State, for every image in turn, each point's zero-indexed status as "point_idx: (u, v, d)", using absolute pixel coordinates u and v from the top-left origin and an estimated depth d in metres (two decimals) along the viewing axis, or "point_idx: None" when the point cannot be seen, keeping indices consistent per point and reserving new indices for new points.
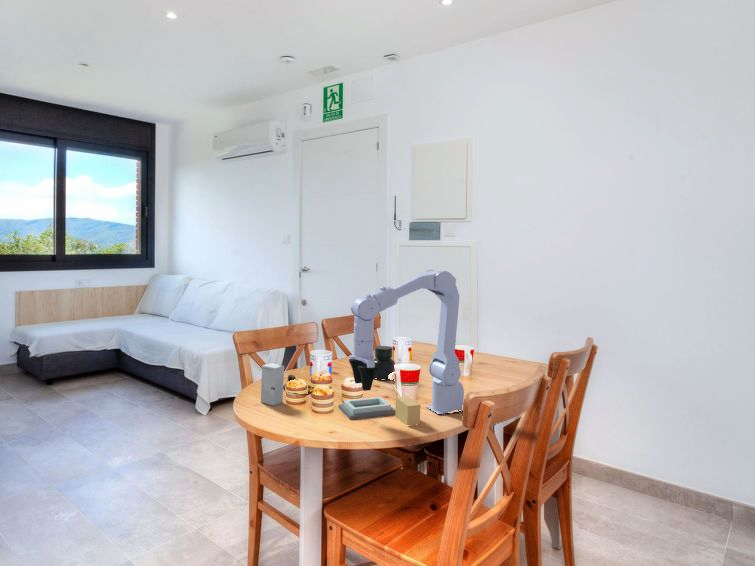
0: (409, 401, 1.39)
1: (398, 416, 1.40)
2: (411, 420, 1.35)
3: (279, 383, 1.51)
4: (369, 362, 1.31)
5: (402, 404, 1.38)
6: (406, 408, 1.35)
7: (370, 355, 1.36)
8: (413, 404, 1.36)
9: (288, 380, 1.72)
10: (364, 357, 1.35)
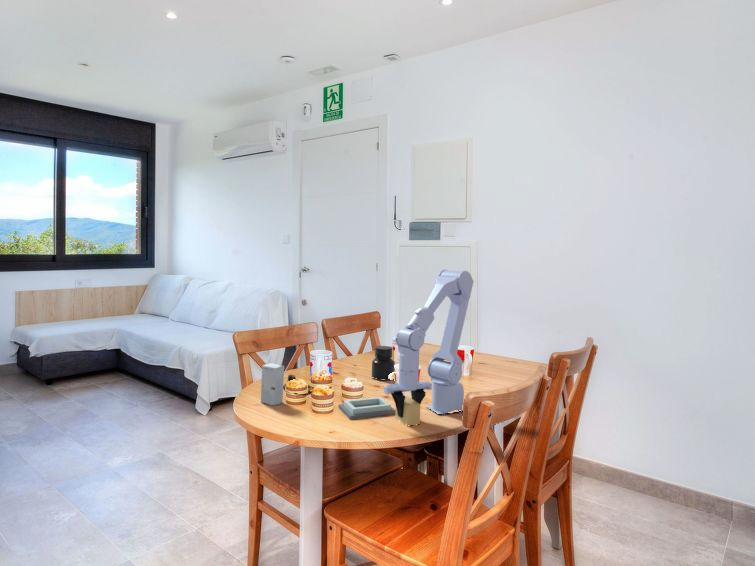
0: (409, 400, 1.39)
1: (398, 416, 1.40)
2: (411, 420, 1.35)
3: (279, 383, 1.51)
4: (384, 387, 1.36)
5: None
6: (406, 407, 1.35)
7: (402, 385, 1.36)
8: (413, 404, 1.36)
9: (288, 380, 1.72)
10: (398, 384, 1.38)
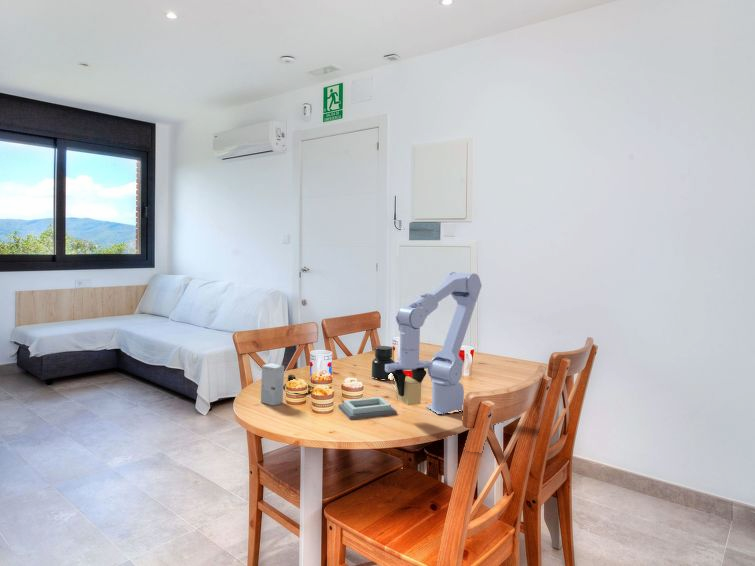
0: (409, 380, 1.38)
1: (399, 395, 1.40)
2: (412, 399, 1.35)
3: (279, 383, 1.51)
4: (385, 366, 1.36)
5: None
6: (407, 386, 1.35)
7: (403, 363, 1.36)
8: (414, 383, 1.36)
9: (288, 380, 1.73)
10: (399, 363, 1.38)
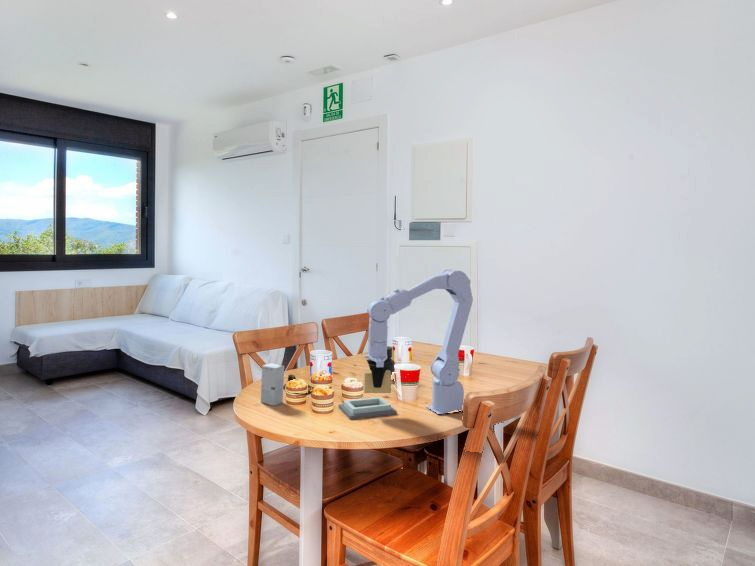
0: None
1: (371, 389, 1.43)
2: None
3: (279, 383, 1.51)
4: (378, 362, 1.37)
5: None
6: (389, 376, 1.43)
7: (382, 355, 1.42)
8: (388, 371, 1.45)
9: (288, 380, 1.73)
10: (376, 357, 1.41)
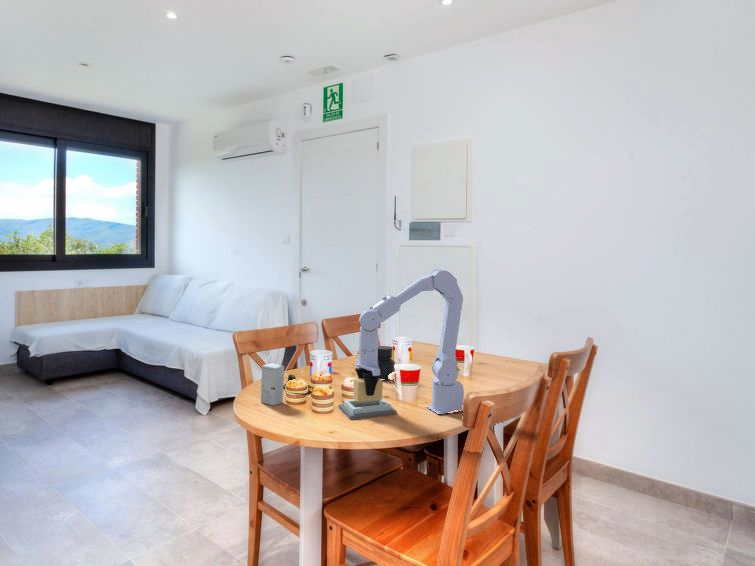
0: None
1: (364, 398, 1.44)
2: None
3: (279, 383, 1.51)
4: (375, 370, 1.39)
5: None
6: (380, 383, 1.46)
7: (375, 363, 1.44)
8: None
9: (288, 380, 1.73)
10: (369, 365, 1.43)
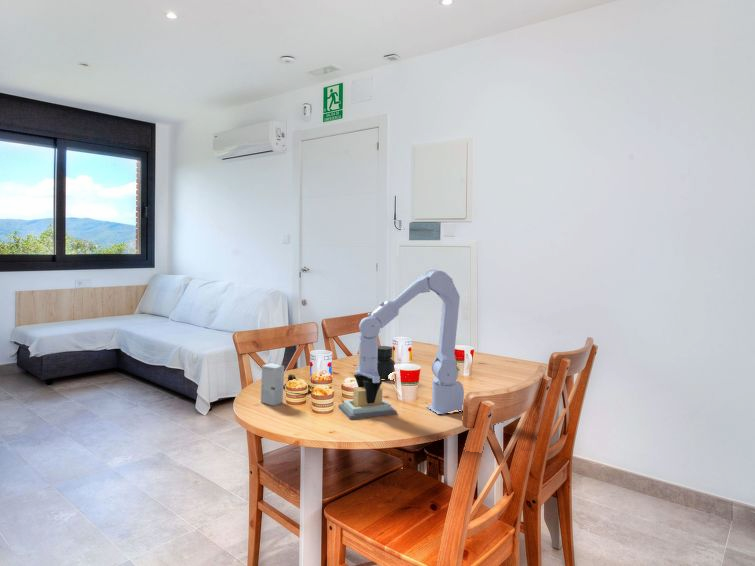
0: None
1: (364, 406, 1.45)
2: None
3: (279, 383, 1.51)
4: (375, 378, 1.40)
5: None
6: (380, 391, 1.46)
7: (375, 370, 1.45)
8: None
9: (288, 380, 1.73)
10: (369, 373, 1.44)
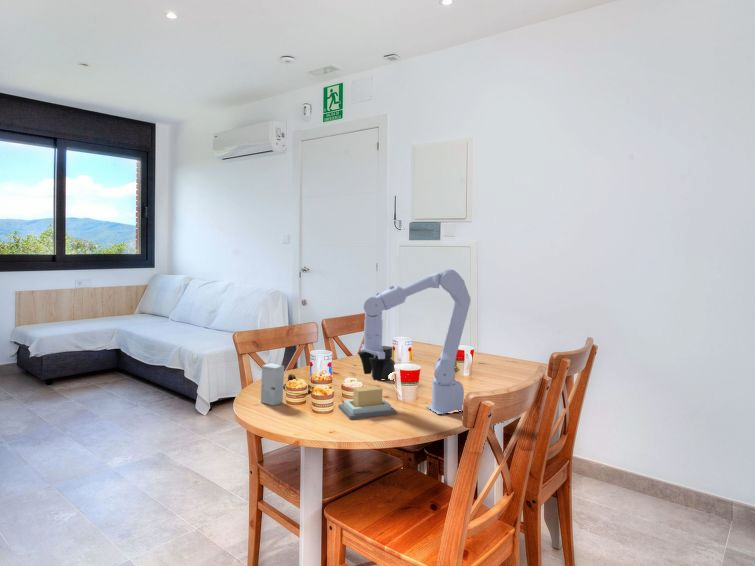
0: (367, 388, 1.47)
1: (364, 406, 1.45)
2: None
3: (279, 383, 1.51)
4: (380, 354, 1.44)
5: (371, 392, 1.45)
6: (380, 391, 1.46)
7: (379, 348, 1.49)
8: (377, 387, 1.48)
9: (288, 379, 1.73)
10: (374, 350, 1.48)
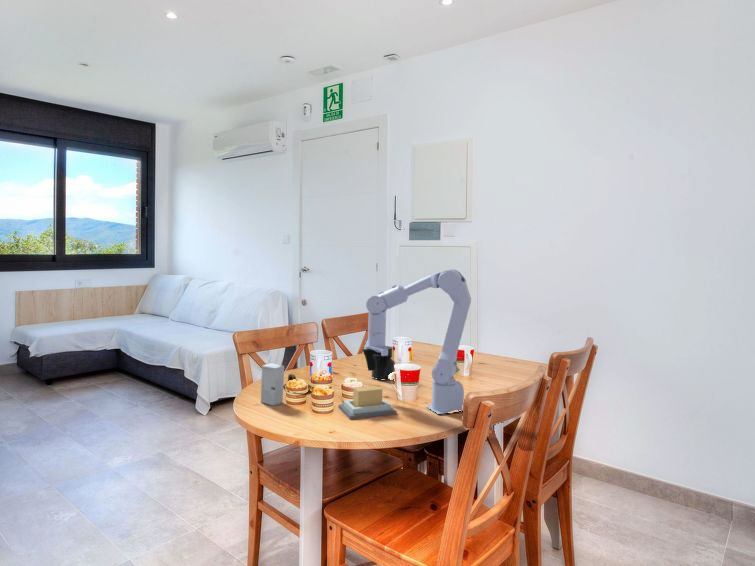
0: (367, 388, 1.47)
1: (364, 406, 1.45)
2: None
3: (279, 383, 1.51)
4: (383, 351, 1.49)
5: (371, 392, 1.45)
6: (380, 391, 1.46)
7: (383, 345, 1.54)
8: (377, 387, 1.48)
9: (288, 379, 1.73)
10: (378, 347, 1.53)
